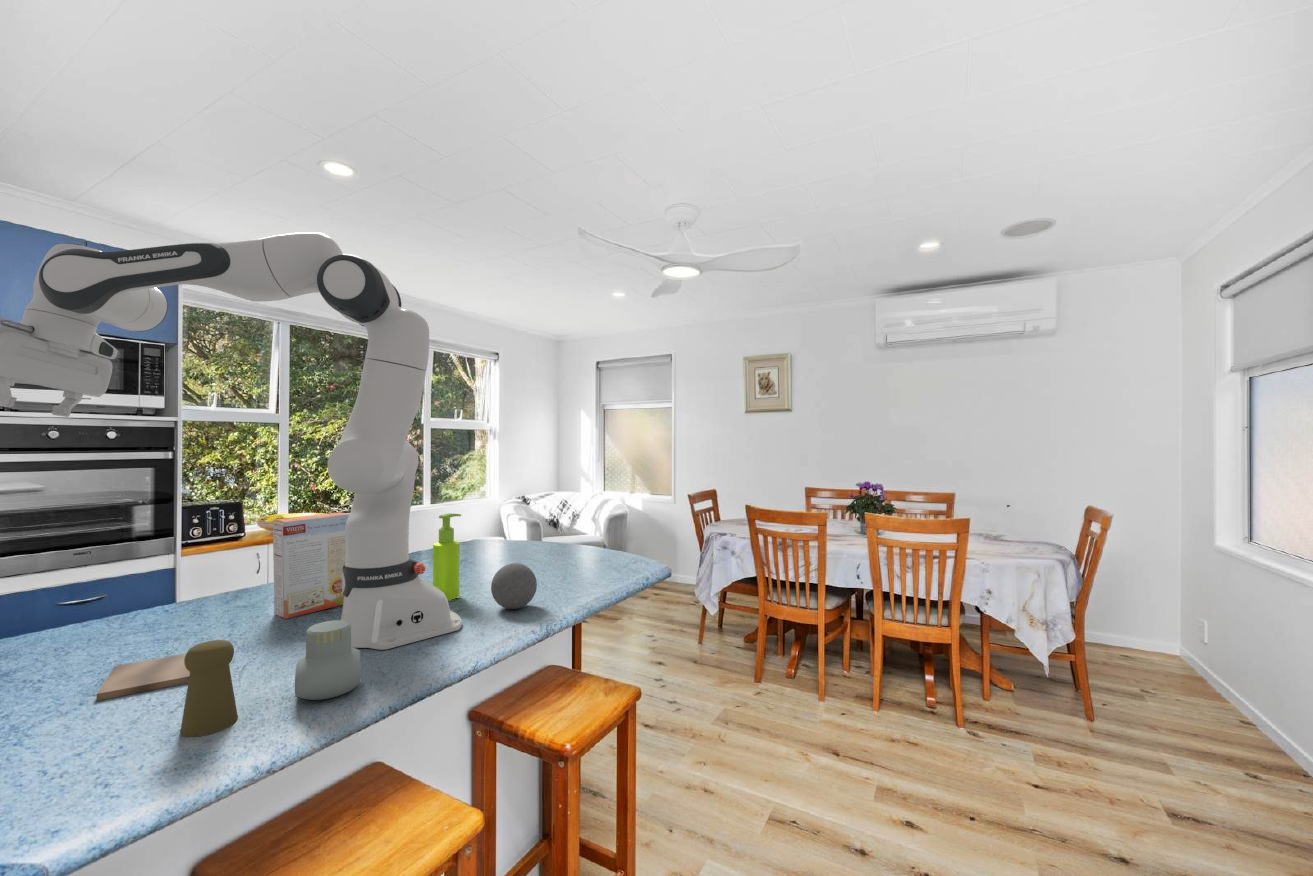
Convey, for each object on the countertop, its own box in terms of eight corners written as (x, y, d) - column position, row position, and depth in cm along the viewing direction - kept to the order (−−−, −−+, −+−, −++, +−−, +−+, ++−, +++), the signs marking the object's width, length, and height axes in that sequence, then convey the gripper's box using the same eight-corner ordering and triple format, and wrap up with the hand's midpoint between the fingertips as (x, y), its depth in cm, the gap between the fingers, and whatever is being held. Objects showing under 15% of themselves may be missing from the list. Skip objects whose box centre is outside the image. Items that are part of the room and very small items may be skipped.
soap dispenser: (467, 595, 135) (467, 513, 135) (445, 603, 128) (446, 517, 128) (449, 592, 137) (449, 511, 137) (427, 599, 131) (427, 515, 131)
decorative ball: (488, 604, 127) (488, 561, 127) (531, 599, 131) (531, 557, 131) (494, 617, 118) (494, 571, 118) (541, 611, 122) (541, 566, 122)
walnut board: (208, 655, 97) (208, 649, 97) (202, 680, 88) (202, 673, 88) (114, 672, 91) (114, 666, 91) (96, 700, 81) (96, 694, 81)
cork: (205, 739, 71) (205, 653, 71) (167, 734, 72) (167, 649, 72) (249, 716, 77) (249, 636, 77) (213, 711, 78) (213, 633, 78)
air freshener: (299, 683, 87) (299, 620, 87) (359, 672, 91) (359, 611, 91) (293, 714, 77) (293, 642, 77) (360, 700, 81) (360, 632, 81)
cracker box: (339, 599, 131) (339, 511, 131) (352, 603, 128) (352, 513, 127) (272, 614, 120) (272, 518, 120) (283, 620, 116) (283, 520, 116)
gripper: (12, 317, 87) (-16, 403, 85) (125, 353, 107) (105, 423, 105) (-30, 310, 86) (-60, 396, 84) (91, 347, 106) (70, 417, 105)
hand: (33, 411), depth 95 cm, fingers open, 8 cm apart
